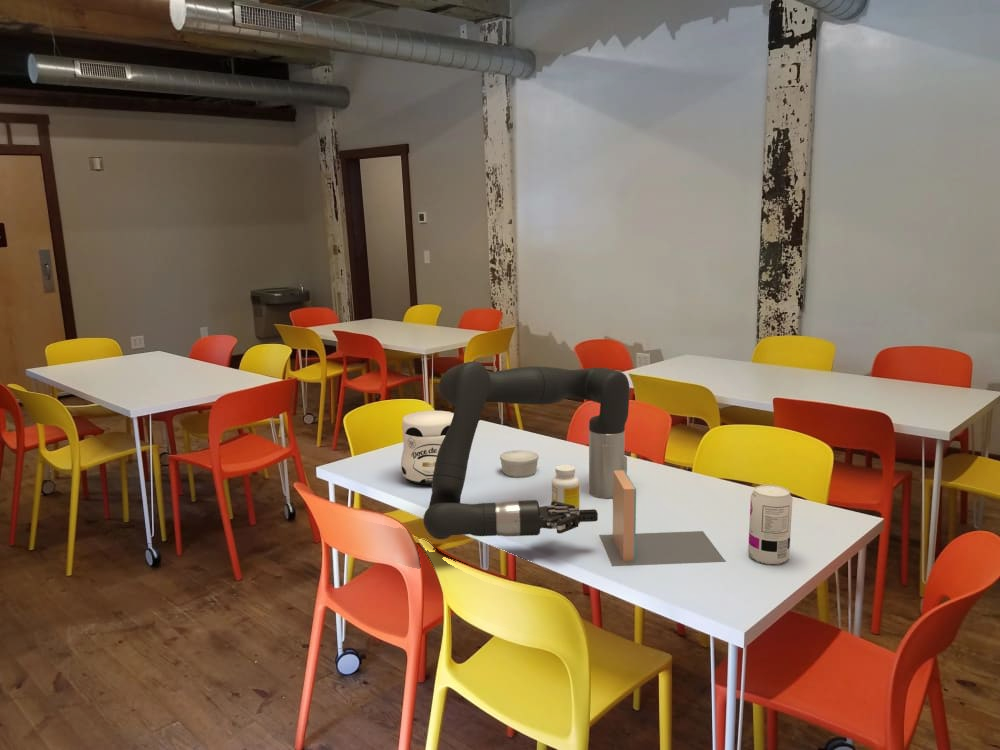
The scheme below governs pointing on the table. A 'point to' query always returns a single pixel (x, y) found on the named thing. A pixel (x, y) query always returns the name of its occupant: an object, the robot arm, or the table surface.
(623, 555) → the tile
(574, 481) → the supplement bottle
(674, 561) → the mat
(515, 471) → the ramekin
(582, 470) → the table surface
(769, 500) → the supplement can
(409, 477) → the milk container
